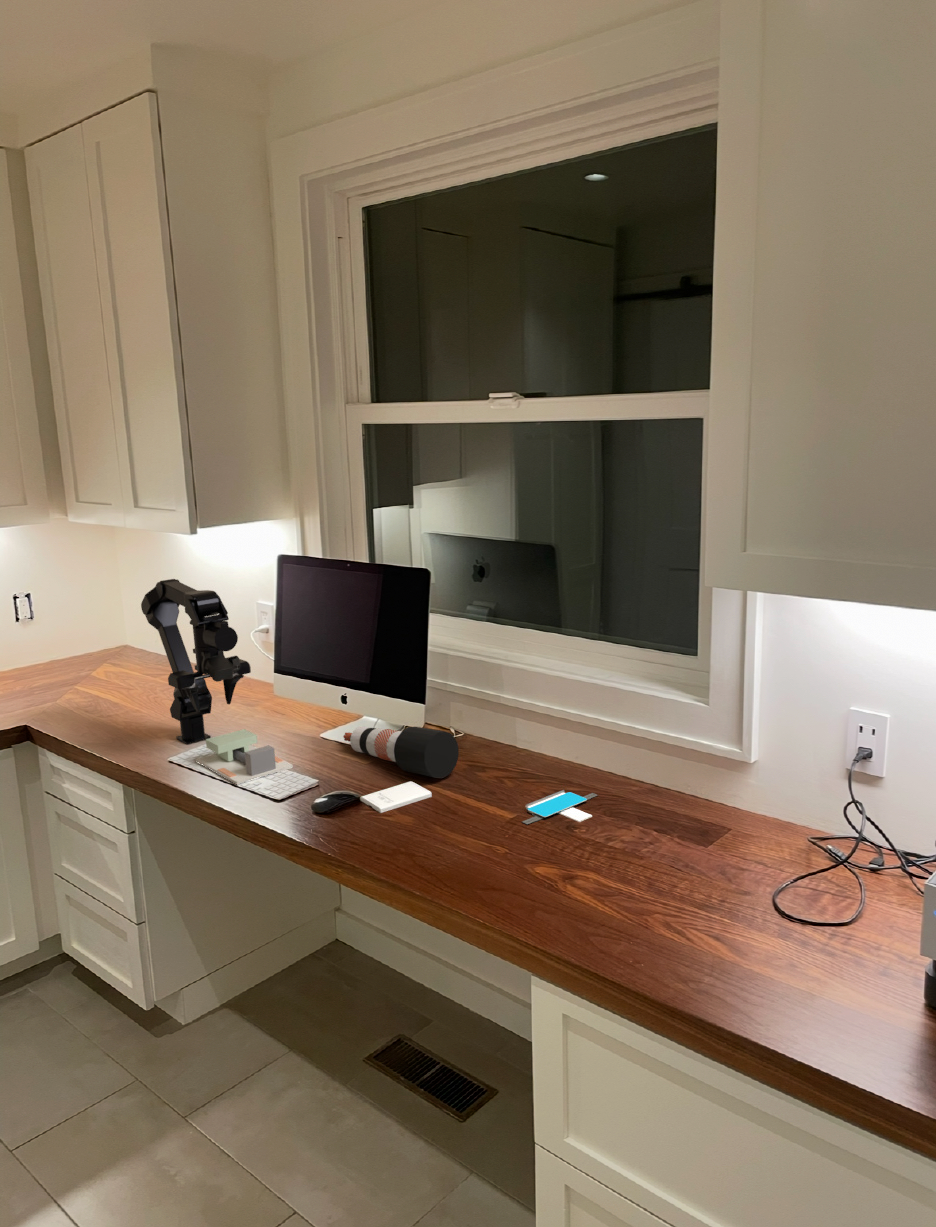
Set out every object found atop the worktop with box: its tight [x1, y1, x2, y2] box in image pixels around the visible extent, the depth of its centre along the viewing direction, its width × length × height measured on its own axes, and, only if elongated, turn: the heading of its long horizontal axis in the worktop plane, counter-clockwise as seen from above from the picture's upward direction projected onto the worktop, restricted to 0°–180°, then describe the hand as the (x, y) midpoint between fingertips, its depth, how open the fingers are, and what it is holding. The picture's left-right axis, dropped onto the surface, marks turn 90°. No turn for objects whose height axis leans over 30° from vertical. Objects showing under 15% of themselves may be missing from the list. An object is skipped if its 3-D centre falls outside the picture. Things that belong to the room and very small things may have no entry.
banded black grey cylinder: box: [342, 726, 460, 779], centre depth 213 cm, size 10×34×10 cm, turn 42°
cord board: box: [195, 744, 293, 785], centre depth 214 cm, size 20×14×6 cm
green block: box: [205, 728, 258, 761], centre depth 218 cm, size 6×10×4 cm, turn 132°
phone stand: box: [522, 789, 598, 825], centre depth 184 cm, size 20×12×2 cm, turn 130°
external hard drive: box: [359, 780, 433, 814], centre depth 193 cm, size 2×8×12 cm
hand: (213, 707), depth 222 cm, fingers open, 8 cm apart
